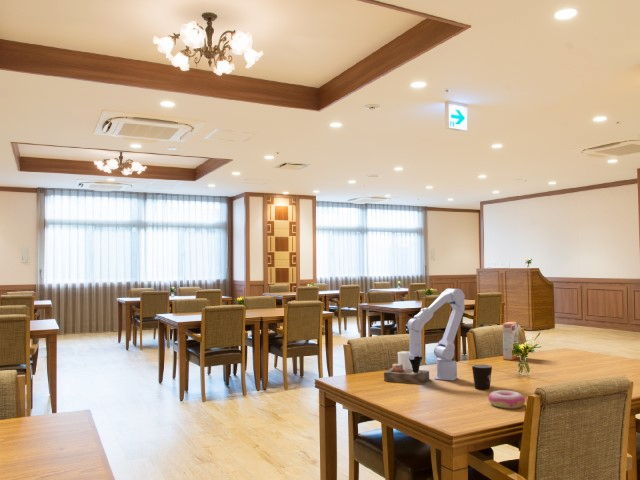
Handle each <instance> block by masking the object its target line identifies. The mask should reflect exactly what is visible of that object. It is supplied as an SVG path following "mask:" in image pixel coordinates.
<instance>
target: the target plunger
mask: <svg viewBox="0 0 640 480" xmlns="http://www.w3.org/2000/svg"><path fill="white" fill-rule="evenodd" d="M391 366H392V367H391V368H392V371H393V372H403V364H398V363H393V364H392V365H391Z"/></svg>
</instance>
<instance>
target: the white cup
mask: <svg viewBox="0 0 640 480" xmlns="http://www.w3.org/2000/svg"><path fill="white" fill-rule="evenodd" d="M408 352H409V350H407V351H405V350H402V351H397V364H403V369H412V365H411V362H410V360H409V354H407V353H408ZM412 370H413V369H412Z"/></svg>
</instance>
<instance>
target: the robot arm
mask: <svg viewBox="0 0 640 480" xmlns="http://www.w3.org/2000/svg"><path fill="white" fill-rule="evenodd" d="M465 298H466V295H465V293H464V291H463V290H462V289H460V288H452V287H451V288H450V287H448V288H446V289H444V291H442V292H441V293H440V295H439V296H438V297H437V298H436V299H435V300H434V301H433V302H432V303H431V304H430V305H429V306H428V307H424V308H423V307H422V308H421V309H420V311H419V312H418V313H417V314H415V315H414V316H413V318H410V319H409V320H408V321H407V324H406V327H407V329H408V333H409V334H408V340H409V341H408V345H409V347H408V348H409V350H408V353H407V354H409V360H410V362H411V365H412V370H413V372H414V373H418V371H419V370H420V367H421V366H420V365H421V362H422V360H423V357H422V355H423V353H422V330H423V328H424V326H425V324H427V322H429V321H430V320H431V319H432V318H433V317H434V313H435V312H436V311H437V310H438V309H440V308H441V307H442V306H444V304H449V305H450V306H451V309H452V311H451V312H450V314H449V315H450V316H449V318H448V322H447V325H446V328H445V330H444V333H443V335H442V338H441V339H440V340H439V341H438V343H437V345H436V346H435V347H434V349H433V354H434V356H435V358H436V377H434V380H441V381H442V380H443V381H455V380H456V379H458V368H457V366H458V365H457V361H456V360H453V359H454V357H455V348H456V346H455V344H454V341H455V339H456V336H457V332H458V330H459V327H460V323H461V321H462V318H463V315H464V312H465V308H466V307H465Z"/></svg>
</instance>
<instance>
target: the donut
mask: <svg viewBox="0 0 640 480" xmlns="http://www.w3.org/2000/svg"><path fill="white" fill-rule="evenodd" d="M488 401H489V403H490V404H491V405H492V406H494V407H496V408H500V409H509V410H510V409H513V410H514V409H519V408H522V407H523V406H524V405H525V402H526V399H525V395H523V394H522V393H520V392H518V391H514V390H503V389H502V390H501V389H500V390H499V389H498V390H494V391H491V392H490V393H489V395H488Z"/></svg>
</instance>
